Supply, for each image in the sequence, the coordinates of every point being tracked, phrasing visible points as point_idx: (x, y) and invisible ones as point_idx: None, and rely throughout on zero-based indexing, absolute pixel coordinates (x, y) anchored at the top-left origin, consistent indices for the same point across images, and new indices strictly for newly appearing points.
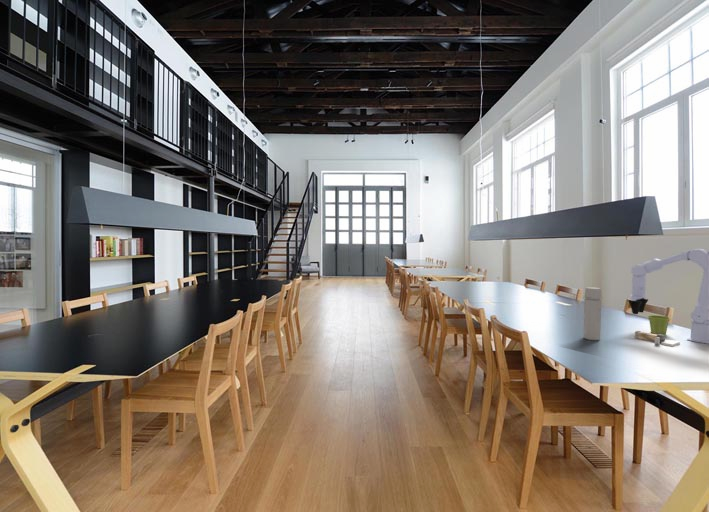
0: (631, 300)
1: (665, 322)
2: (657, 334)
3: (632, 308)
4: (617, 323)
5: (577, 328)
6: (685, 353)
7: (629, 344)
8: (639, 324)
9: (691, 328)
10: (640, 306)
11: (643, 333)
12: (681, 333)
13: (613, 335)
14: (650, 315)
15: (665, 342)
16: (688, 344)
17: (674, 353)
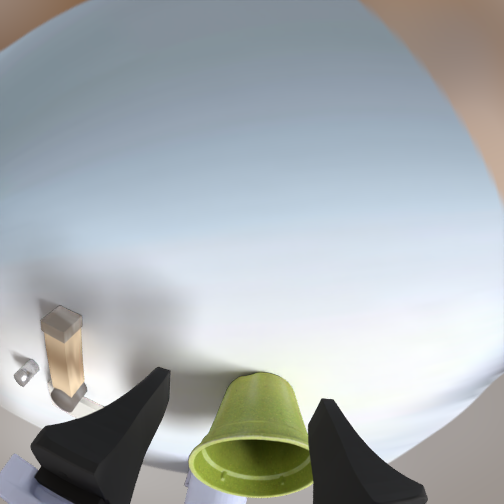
0: (15, 455)
1: (223, 468)
2: (57, 393)
3: (127, 403)
4: (447, 175)
5: (85, 22)
6: (25, 404)
7: None
8: (475, 292)
9: (200, 499)
10: (325, 461)
11: (46, 349)
12: None
13: (36, 213)
14: (299, 445)
15: None
16: None
17: (5, 382)
